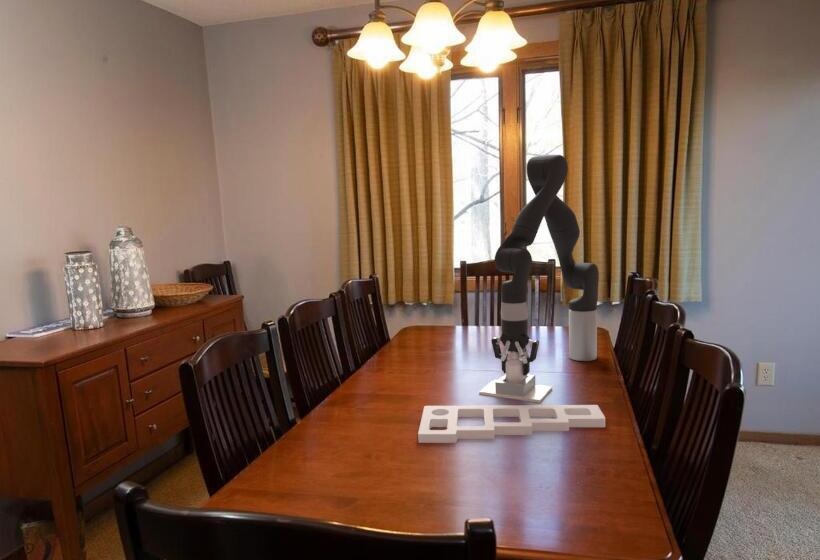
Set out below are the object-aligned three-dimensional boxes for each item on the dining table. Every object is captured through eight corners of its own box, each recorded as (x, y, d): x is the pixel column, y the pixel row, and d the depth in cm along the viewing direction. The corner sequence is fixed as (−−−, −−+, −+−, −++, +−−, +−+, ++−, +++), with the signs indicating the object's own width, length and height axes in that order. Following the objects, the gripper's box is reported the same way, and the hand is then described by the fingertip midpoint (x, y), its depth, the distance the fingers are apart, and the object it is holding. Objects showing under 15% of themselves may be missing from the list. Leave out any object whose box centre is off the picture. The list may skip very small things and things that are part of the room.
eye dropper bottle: (524, 389, 157) (523, 349, 155) (505, 388, 159) (504, 348, 157) (526, 384, 161) (525, 345, 160) (507, 383, 163) (506, 344, 161)
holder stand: (494, 381, 170) (494, 369, 170) (552, 389, 161) (551, 376, 160) (479, 394, 160) (478, 380, 159) (539, 402, 151) (539, 388, 150)
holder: (597, 414, 142) (597, 404, 142) (615, 445, 124) (615, 434, 124) (425, 415, 147) (424, 405, 147) (418, 444, 130) (417, 434, 129)
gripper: (542, 315, 157) (543, 372, 159) (495, 312, 164) (497, 367, 167) (534, 321, 151) (535, 380, 153) (486, 318, 158) (487, 374, 160)
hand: (515, 373), depth 160 cm, fingers closed on eye dropper bottle, 5 cm apart
